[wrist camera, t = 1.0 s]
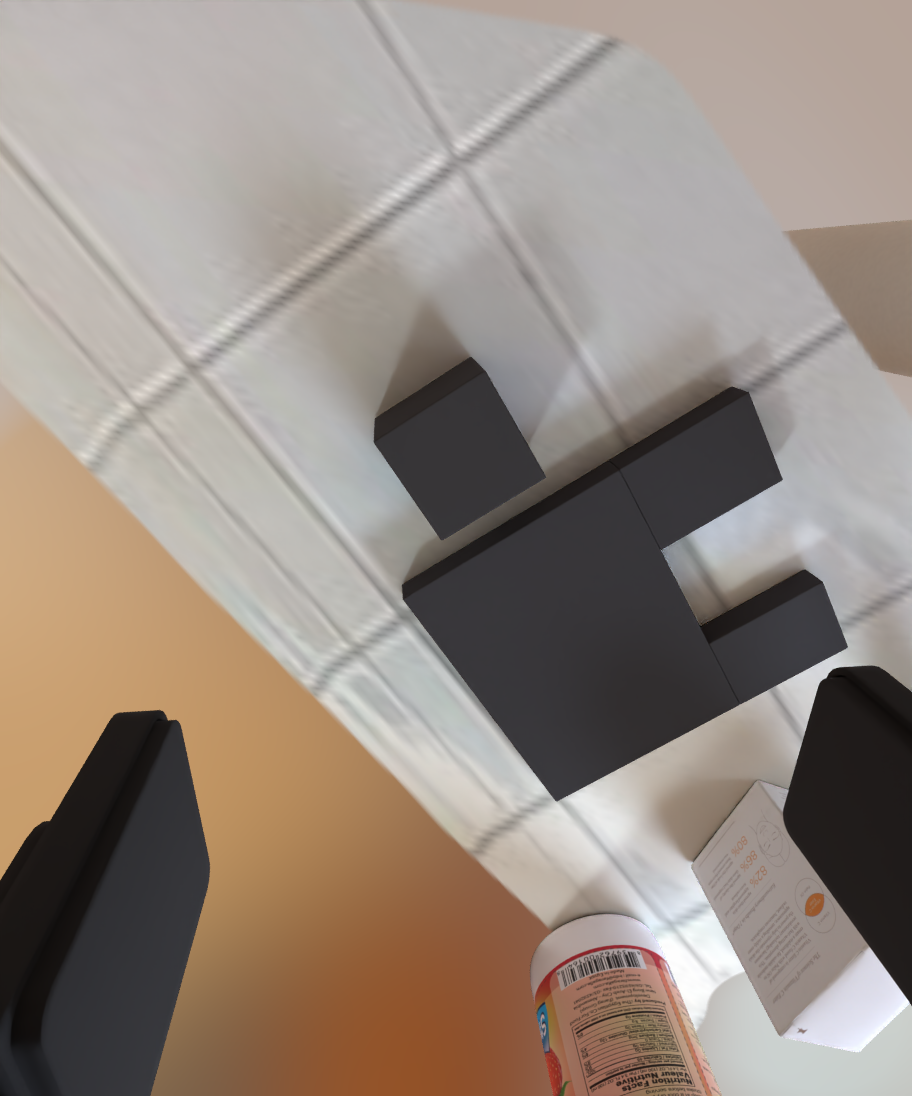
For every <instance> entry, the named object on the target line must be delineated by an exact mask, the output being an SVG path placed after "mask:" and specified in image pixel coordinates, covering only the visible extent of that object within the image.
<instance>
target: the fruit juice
mask: <svg viewBox="0 0 912 1096" xmlns="http://www.w3.org/2000/svg"><path fill="white" fill-rule="evenodd" d="M530 980H531V989H532V994H533V999H534V1003H535V1009H536V1014H537V1018H538V1023H539V1028H540V1033H541V1038H542V1043H543V1048H544V1052H545V1057H546V1062H547V1067H548V1072H549V1077H550V1082H551V1086H552V1091H553V1096H722V1094H721V1092H720V1090H719V1087H718V1085H717V1082H716V1080H715V1077H714V1075H713V1073H712V1070H711V1067H710V1065H709V1063H708V1060H707V1058H706V1055H705V1053H704V1050H703V1048H702V1046H701V1043H700V1041H699V1038H698V1036H697V1033H696V1031H695V1028H694V1026H693V1023H692V1021H691V1019H690V1016H689V1014H688V1011H687V1009H686V1006H685V1004H684V1001H683V999H682V997H681V994H680V992H679V989H678V987H677V984H676V982H675V979H674V977H673V975H672V972H671V970H670V967H669V965H668V962H667V960H666V957H665V955H664V953H663V950H662V948H661V946H660V944H659V943H658V941H657V939H656V937H655V936H654V935H653V933H652V932H651V931H650V930H649V929H648V928H647V927H646V926H645V925H644V924H643V923H641V922H639V921H638V920H636V919H633V918H630V917H627V916H623V915H615V914H599V915H592V916H587V917H583V918H580V919H576V920H574V921H571V922H569V923H567V924H565V925H563V926H561V927H559V928H558V929H556V930H555V931H553V932H552V933H551V934H549V935H548V936H547V937H546V938H545V939H544V940H543V941H542V942H541V943H540V944H539V946H538V947H537V949H536V950H535V952H534V955H533V957H532V960H531V966H530Z"/></svg>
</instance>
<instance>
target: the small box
mask: <svg viewBox="0 0 912 1096" xmlns="http://www.w3.org/2000/svg"><path fill="white" fill-rule="evenodd" d="M788 791H789V790H787V789H784V788H781V787H778V786H775V785H772V784H769V783H766V782H763V781H760V780H758V781H756V782H755V783H754V785H753V786H752V787H751V789H750V790H749V791H748V793H747V794H746V795H745V796H744V798H743V799H742V800H741V802H740V803H739V804H738V805H737V807H736V808H735V809H734V811H733V812H732V813H731V814H730V816H729V817H728V818H727V820H726V821H725V822H724V823H723V825H722V826H721V827H720V829H719V830H718V831H717V832H716V834H715V835H714V836H713V838H712V839H711V840H710V841H709V843H708V844H707V845H706V847H705V848H704V849H703V851H702V852H701V853H700V855H699V856H698V857H697V858H696V860H695V861H694V862H693V864H692V865H691V868H692V870H693V872H694V874H695V876H696V878H697V880H698V882H699V884H700V885H701V887H702V889H703V891H704V893H705V895H706V897H707V899H708V901H709V903H710V905H711V907H712V908H713V910H714V912H715V914H716V916H717V918H718V920H719V922H720V924H721V926H722V928H723V929H724V931H725V933H726V935H727V937H728V939H729V941H730V943H731V945H732V947H733V949H734V951H735V953H736V954H737V956H738V958H739V960H740V962H741V964H742V966H743V968H744V970H745V972H746V974H747V975H748V978H749V980H750V982H751V983H752V985H753V987H754V989H755V991H756V993H757V995H758V997H759V999H760V1001H761V1003H762V1005H763V1006H764V1008H765V1010H766V1012H767V1014H768V1016H769V1018H770V1020H771V1022H772V1024H773V1025H774V1027H775V1029H776V1031H777V1033H778V1035H779V1036H780V1037H784V1038H788V1039H793V1040H797V1041H803V1042H808V1043H813V1044H819V1045H823V1046H828V1047H833V1048H838V1049H844V1050H848V1051H854V1052H860V1051H861V1050H862V1048H864V1047H865V1046H866V1045H867V1044H868V1043H869V1042H870V1041H871V1039H873V1038H874V1037H875V1036H876V1035H877V1034H878V1033H879V1032H880V1031H881V1030H882V1029H883V1028H884V1027H885V1026H886V1025H888V1024H889V1023H890V1022H891V1021H892V1020H893V1019H894V1018H895V1017H896V1016H897V1015H898V1014H899V1013H900V1012H901V1011H902V1010H903V1009H904V1008H905V1007H906V1006H907V1005H908V1004H909V1001H908V1000H907V998H906V997H905V996H904V994H903V993H902V991H901V990H900V989H899V987H898V986H897V984H896V983H895V982H894V980H893V979H892V978H891V976H890V975H889V973H888V972H887V971H886V969H885V968H884V966H883V965H882V964H881V962H880V961H879V959H878V958H877V957H876V955H875V954H874V953H873V951H872V950H871V948H870V947H869V946H868V944H867V943H866V941H865V940H864V939H863V937H862V936H861V934H860V933H859V932H858V930H857V929H856V928H855V926H854V925H853V923H852V922H851V921H850V919H849V918H848V916H847V915H846V914H845V912H844V911H843V909H842V908H841V907H840V905H839V904H838V903H837V901H836V900H835V898H834V897H833V896H832V894H831V893H830V891H829V890H828V889H827V887H826V886H825V885H824V883H823V882H822V880H821V879H820V878H819V876H818V875H817V873H816V872H815V871H814V869H813V868H812V866H811V865H810V864H809V862H808V861H807V860H806V858H805V857H804V855H803V854H802V853H801V851H800V850H799V848H798V847H797V846H796V844H795V843H794V841H793V840H792V839H791V837H790V836H789V834H788V832H787V830H786V828H785V825H784V821H783V808H784V805H785V801H786V798H787V794H788Z"/></svg>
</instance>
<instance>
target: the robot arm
mask: <svg viewBox="0 0 912 1096" xmlns="http://www.w3.org/2000/svg"><path fill="white" fill-rule="evenodd" d="M783 821H784V825H785V828H786V830H787V832H788V834H789V836H790V837H791V839H792V840H793V841H794V843H795V844H796V846H797V847H798V848H799V850H800V851H801V853H802V854H803V855H804V857H805V858H806V860H807V861H808V862H809V864H810V865H811V866H812V868H813V869H814V871H815V872H816V873H817V875H818V876H819V878H820V879H821V880H822V882H823V883H824V885H825V886H826V887H827V889H828V890H829V891H830V893H831V894H832V896H833V897H834V898H835V900H836V901H837V903H838V904H839V905H840V907H841V908H842V909H843V911H844V912H845V914H846V915H847V916H848V918H849V919H850V921H851V922H852V923H853V925H854V926H855V928H856V929H857V930H858V932H859V933H860V934H861V936H862V937H863V939H864V940H865V941H866V943H867V944H868V946H869V947H870V948H871V950H872V951H873V953H874V954H875V955H876V957H877V958H878V959H879V961H880V962H881V964H882V965H883V966H884V968H885V969H886V971H887V972H888V973H889V975H890V976H891V978H892V979H893V980H894V982H895V983H896V984H897V986H898V987H899V989H900V990H901V991H902V993H903V994H904V996H905V997H906V998H907V1000H908V1001H909V1003H910V1004H911V1005H912V692H911V691H910V690H909V689H907V688H906V687H905V686H904V685H902V684H901V683H900V682H899V681H897V680H896V679H895V678H894V677H892V676H891V675H890V674H889V673H887V672H886V671H885V670H883V669H881V668H880V667H877V666H872V665H871V666H855V667H839V668H836V669H833V670H832V671H831V672H830V673H829V674H828V676H827V678H826V679H823V680H822V681H821V682H820V684H819V686H818V690H817V693H816V697H815V700H814V704H813V707H812V711H811V714H810V718H809V721H808V724H807V728H806V731H805V735H804V738H803V742H802V745H801V749H800V752H799V756H798V759H797V763H796V766H795V770H794V773H793V777H792V780H791V784H790V787H789V791H788V794H787V798H786V801H785V805H784V808H783ZM209 873H210V862H209V856H208V852H207V847H206V842H205V837H204V832H203V828H202V823H201V818H200V814H199V809H198V804H197V799H196V795H195V790H194V785H193V780H192V776H191V771H190V766H189V762H188V757H187V752H186V747H185V743H184V738H183V733H182V729H181V725H180V723H179V722H178V721H177V720H169V721H168V720H167V717H166V715H165V713H164V712H163V711H161V710H155V711H141V712H140V711H138V712H123V713H117V714H115V715H114V716H113V717H112V718H111V720H110V721H109V723H108V724H107V726H106V728H105V729H104V731H103V733H102V735H101V736H100V738H99V740H98V741H97V743H96V745H95V746H94V748H93V750H92V751H91V753H90V755H89V756H88V758H87V760H86V761H85V764H84V765H83V767H82V768H81V770H80V772H79V773H78V775H77V777H76V778H75V780H74V782H73V783H72V785H71V787H70V789H69V790H68V792H67V793H66V795H65V797H64V799H63V800H62V802H61V804H60V806H59V807H58V809H57V810H56V812H55V814H54V815H53V817H52V819H51V820H50V821H46V822H42V823H41V824H40V825H38V826H37V827H35V828H34V829H33V831H32V832H31V833H30V834H29V836H28V837H27V838H26V840H25V841H24V843H23V844H22V846H21V848H20V849H19V851H18V853H17V854H16V856H15V857H14V859H13V861H12V862H11V864H10V866H9V867H8V869H7V870H6V872H5V874H4V875H3V877H2V879H1V880H0V1096H150V1095H151V1091H152V1087H153V1084H154V1080H155V1076H156V1073H157V1069H158V1066H159V1062H160V1058H161V1055H162V1051H163V1048H164V1044H165V1040H166V1036H167V1033H168V1030H169V1026H170V1022H171V1019H172V1015H173V1012H174V1008H175V1004H176V1000H177V997H178V993H179V990H180V986H181V982H182V979H183V975H184V971H185V968H186V965H187V961H188V957H189V954H190V950H191V946H192V943H193V939H194V936H195V932H196V928H197V925H198V921H199V917H200V914H201V910H202V907H203V903H204V899H205V896H206V892H207V888H208V883H209Z"/></svg>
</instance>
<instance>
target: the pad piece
mask: <svg viewBox="0 0 912 1096" xmlns="http://www.w3.org/2000/svg"><path fill="white" fill-rule="evenodd" d="M374 443H375V445H376V446H377V448H378V449H379V451H380V452H381V453H382V455H383V456H384V458H385V459H386V461H387V462H388V464H389V465H390V467H391V468H392V469H393V471H394V472H395V474H396V475H397V477H398V478H399V480H400V481H401V483H402V484H403V485H404V487H405V488H406V490H407V491H408V493H409V494H410V496H411V497H412V498H413V500H414V501H415V503H416V504H417V506H418V507H419V509H420V510H421V512H422V513H423V514H424V516H425V517H426V519H427V520H428V522H429V523H430V525H431V526H432V528H433V529H434V530H435V532H436V533H437V535H438V536H439V538H440V539H441V540H444V539H445V538H447V537H449V536H450V535H452V534H454V533H455V532H457V531H459V530H460V529H462V528H464V527H465V526H467V525H469V524H470V523H472V522H473V521H475V520H477V519H478V518H480V517H482V516H483V515H485V514H487V513H488V512H490V511H492V510H493V509H495V508H497V507H498V506H500V505H502V504H503V503H505V502H506V501H508V500H510V499H511V498H513V497H515V496H516V495H518V494H520V493H521V492H523V491H525V490H526V489H528V488H530V487H531V486H533V485H535V484H536V483H538V482H539V481H541V480H543V479H544V478H546V476H545V474H544V472H543V471H542V469H541V467H540V465H539V464H538V462H537V460H536V458H535V457H534V455H533V453H532V451H531V450H530V448H529V446H528V444H527V443H526V441H525V439H524V437H523V436H522V434H521V432H520V430H519V429H518V427H517V425H516V423H515V422H514V420H513V418H512V416H511V415H510V413H509V411H508V409H507V408H506V406H505V404H504V402H503V401H502V399H501V397H500V396H499V394H498V392H497V390H496V389H495V387H494V385H493V383H492V382H491V380H490V378H489V376H488V375H487V373H486V371H485V370H484V369H483V368H482V367H481V366H480V365H479V364H478V363H477V362H476V361H475V360H474V359H473V358H472V357H470V358H468V359H467V360H465V361H463V362H462V363H460V364H459V365H457V366H456V367H454V368H453V369H451V370H450V371H448V372H446V373H445V374H443V375H442V376H440V377H439V378H437V379H436V380H434V381H432V382H431V383H429V384H428V385H426V386H425V387H423V388H422V389H420V390H419V391H417V392H415V393H414V394H412V395H411V396H409V397H408V398H406V399H405V400H403V401H401V402H400V403H398V404H397V405H395V406H394V407H392V408H391V409H389V410H388V411H386V412H384V413H383V414H381V415H380V416H378V417H377V418H375V427H374Z"/></svg>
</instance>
